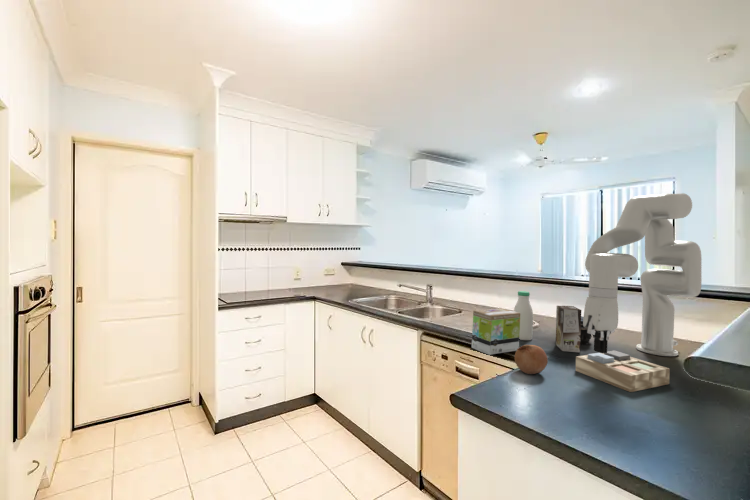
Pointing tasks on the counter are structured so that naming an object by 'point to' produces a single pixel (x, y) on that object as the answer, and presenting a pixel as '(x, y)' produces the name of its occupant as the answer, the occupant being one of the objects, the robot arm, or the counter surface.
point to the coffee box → (568, 328)
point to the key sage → (642, 366)
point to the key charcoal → (618, 355)
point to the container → (584, 334)
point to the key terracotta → (625, 369)
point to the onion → (531, 359)
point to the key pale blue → (601, 358)
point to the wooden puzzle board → (624, 373)
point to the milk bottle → (524, 315)
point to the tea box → (495, 331)
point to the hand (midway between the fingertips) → (600, 351)
